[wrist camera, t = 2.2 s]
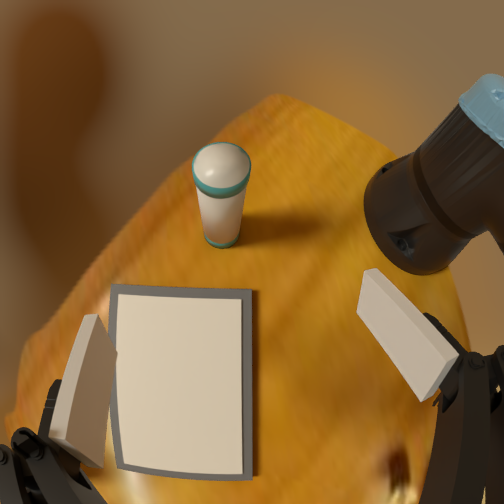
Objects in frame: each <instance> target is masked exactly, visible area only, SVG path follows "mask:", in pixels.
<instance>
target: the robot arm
mask: <svg viewBox="0 0 504 504" xmlns="http://www.w3.org/2000/svg"><path fill="white" fill-rule="evenodd" d="M364 212H365V218H366V221H367V225H368V227H369V230H370V232H371V235H372V237H373V239H374V240H375V242H376V244H377V245H378V247H379V248H380V250H381V251H382V252H383V254H384V255H385V256H386V257H387V258H388V259H389V260H390V261H391V262H392V263H393V264H395V265H396V266H397V267H399V268H400V269H402V270H404V271H406V272H408V273H411V274H415V275H428V274H431V273H434V272H436V271H439V270H441V269H443V268H445V267H446V266H448V265H449V264H450V263H451V262H452V261H453V260H454V259H455V258H456V256H457V255H458V254H459V253H460V252H461V250H463V248H464V247H465V246H466V245H467V244H468V243H469V241H470V240H471V239H472V238H474V237H475V236H478V235H480V234H482V233H484V232H486V231H489V232H490V233H491V234H492V236H493V238H494V239H495V241H496V242H497V244H498V246H499V247H500V249H501V251H502V253H503V255H504V77H502V76H499V75H496V74H486V75H484V76H482V77H481V78H480V79H479V80H478V81H477V82H476V83H475V84H474V85H473V86H472V87H471V88H470V89H469V90H468V91H467V92H466V93H463V94H462V95H461V96H460V98H459V103H458V104H457V106H456V107H455V108H454V109H453V110H452V111H451V112H450V113H449V115H448V116H447V117H446V118H445V119H444V120H443V121H442V122H441V123H440V125H439V126H438V127H437V128H436V129H435V130H434V131H433V132H432V133H431V134H430V135H429V137H428V138H427V139H426V140H425V141H424V142H423V143H422V145H420V147H419V148H418V149H417V150H416V151H415V152H412V153H410V154H408V155H405V156H403V157H401V158H398V159H396V160H394V161H392V162H389V163H387V164H385V165H384V166H382V167H381V168H380V169H379V170H378V171H377V172H376V173H375V175H374V176H373V177H372V178H371V179H370V181H369V183H368V184H367V187H366V190H365V194H364ZM357 314H358V315H359V316H360V318H361V319H362V320H363V322H364V323H365V324H366V326H367V327H368V328H369V330H370V331H371V332H372V334H373V335H374V336H375V338H376V339H377V341H378V342H379V343H380V345H381V346H382V347H383V349H384V350H385V352H386V353H387V354H388V356H389V357H390V358H391V360H392V361H393V363H394V364H395V366H396V367H397V368H398V370H399V371H400V373H401V374H402V375H403V377H404V378H405V380H406V381H407V383H408V384H409V386H410V387H411V389H412V390H413V391H414V393H415V394H416V396H417V397H418V399H419V400H420V402H422V401H424V400H426V399H427V398H429V397H431V396H433V395H434V393H435V392H436V390H437V389H438V387H439V388H440V390H441V393H440V394H439V395H438V397H437V398H436V399H435V401H434V402H433V405H432V406H435V405H436V403H437V402H438V401H439V404H438V406H437V407H438V414H437V422H436V429H435V436H434V442H433V448H432V453H431V458H430V463H429V467H428V472H427V476H426V480H425V484H424V487H423V491H422V494H421V498H420V501H419V504H481V503H482V499H483V494H484V488H485V497H486V500H485V502H486V503H485V504H504V345H501V346H499V347H498V348H497V349H496V351H495V352H494V354H492V355H487V356H482V355H481V354H479V353H477V352H469V353H468V352H467V351H466V350H465V349H464V348H463V347H462V346H461V345H460V344H459V342H458V341H457V340H456V339H455V338H454V337H453V336H452V335H451V334H450V333H449V332H447V329H446V328H445V327H444V326H442V324H441V323H440V322H439V321H438V320H437V319H436V318H435V317H433V316H432V315H430V314H428V313H423V314H422V313H421V312H420V311H419V310H418V309H417V308H416V307H415V306H414V305H413V304H412V303H411V302H410V301H409V300H408V299H407V298H406V297H405V296H404V295H403V294H402V293H401V292H400V291H399V290H398V289H397V288H396V287H395V286H394V285H393V284H392V283H391V282H390V281H389V280H388V279H387V278H386V277H385V276H384V275H383V274H382V273H381V272H380V271H379V270H378V269H377V268H374V269H369V270H365V271H364V275H363V281H362V287H361V292H360V297H359V302H358V307H357ZM117 355H118V353H117V351H116V349H115V347H114V345H113V343H112V342H111V340H110V338H109V336H108V334H107V332H106V330H105V328H104V325H103V323H102V321H101V319H100V317H99V315H98V314H91V315H85V316H84V318H83V321H82V323H81V326H80V329H79V331H78V334H77V337H76V340H75V342H74V345H73V348H72V351H71V354H70V357H69V360H68V363H67V366H66V369H65V372H64V376H63V379H62V380H58V379H56V380H55V381H54V383H53V384H52V386H51V387H50V389H49V392H48V395H47V400H46V403H45V408H44V410H43V414H42V418H41V422H40V426H39V431H38V435H36V434H35V433H34V432H33V431H32V430H30V429H29V428H25V427H22V428H19V429H17V430H16V431H15V432H14V434H13V436H12V438H11V447H12V450H11V449H10V448H9V447H8V446H6V445H3V444H0V502H1V504H107V502H106V501H105V500H104V499H103V497H102V496H101V495H100V494H99V492H98V491H97V490H96V488H95V487H94V485H93V484H92V483H91V481H90V480H89V479H88V477H87V476H86V474H85V473H84V471H83V470H82V469H81V468H80V462H82V463H83V464H84V465H86V466H87V467H93V468H101V469H104V453H105V440H106V429H107V420H108V412H109V404H110V397H111V390H112V383H113V377H114V372H115V366H116V360H117ZM498 385H499V386H500V391H499V392H497V390H496V388H497V387H498ZM26 489H27V490H26Z"/></svg>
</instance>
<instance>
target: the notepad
mask: <svg viewBox="0 0 504 504" xmlns="http://www.w3.org/2000/svg"><path fill="white" fill-rule="evenodd" d="M108 336H109V338H110V340H111V342H112V343H113V345H114V347H115V349H116V351H117V353H118V355H117V360H116V366H115V372H114V377H113V383H112V390H111V397H110V417H111V427H112V436H113V444H114V451H115V458H116V464H117V468H119V469H123V470H128V471H133V472H138V473H144V474H150V475H157V476H164V477H172V478H182V479H194V480H215V481H243V480H252V289H214V288H183V287H159V286H139V285H122V284H111V292H110V306H109V324H108Z"/></svg>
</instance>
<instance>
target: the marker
mask: <svg viewBox="0 0 504 504" xmlns="http://www.w3.org/2000/svg"><path fill="white" fill-rule="evenodd" d="M192 171H193V178H194V182H195V185H196V187H197V194H198V200H199V206H200V212H201V218H202V224H203V230H204V235H205V238H206V240H207V242H208V243H209V244H210V245H211V246H213V247H215V248H219V249H224V248H228V247H230V246H232V245H233V244H234V243H235V242H236V241H237V239H238V237H239V232H240V225H241V218H242V212H243V205H244V199H245V193H246V186H247V184H248V182H249V177H250V171H251V161H250V158H249V156H248V154H247V153H246V152H245V151H244V150H243V149H242V148H241V147H239V146H237V145H235V144H232V143H228V142H216V143H212V144H209V145H207V146H205V147H203V148H202V149H201V150H199V151H198V152H197V154H196V155H195V157H194V159H193V162H192Z"/></svg>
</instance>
